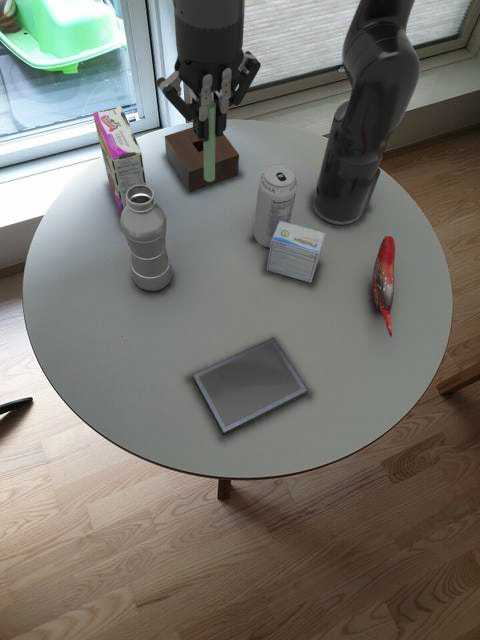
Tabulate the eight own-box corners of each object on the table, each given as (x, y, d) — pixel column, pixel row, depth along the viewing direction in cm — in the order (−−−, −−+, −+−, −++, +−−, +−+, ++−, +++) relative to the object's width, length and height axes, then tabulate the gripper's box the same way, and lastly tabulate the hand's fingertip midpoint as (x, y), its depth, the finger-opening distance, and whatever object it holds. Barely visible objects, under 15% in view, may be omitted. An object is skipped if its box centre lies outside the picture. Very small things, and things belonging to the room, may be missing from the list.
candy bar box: (107, 185, 100) (91, 111, 86) (133, 179, 101) (122, 104, 87) (125, 230, 95) (110, 158, 81) (152, 222, 96) (143, 151, 82)
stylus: (211, 178, 81) (211, 98, 69) (216, 185, 80) (218, 106, 68) (202, 182, 81) (200, 102, 68) (207, 189, 80) (206, 110, 68)
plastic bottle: (167, 299, 88) (157, 217, 71) (127, 291, 89) (107, 207, 71) (177, 268, 91) (171, 182, 74) (138, 260, 92) (123, 172, 75)
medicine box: (317, 264, 93) (326, 232, 86) (310, 284, 91) (320, 253, 84) (273, 251, 94) (278, 218, 87) (265, 271, 92) (270, 239, 85)
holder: (213, 140, 107) (213, 120, 103) (237, 174, 103) (239, 154, 99) (166, 156, 105) (164, 135, 100) (189, 192, 100) (188, 172, 96)
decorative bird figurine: (381, 265, 94) (398, 227, 85) (388, 356, 85) (409, 324, 76) (364, 263, 94) (380, 226, 85) (370, 355, 85) (389, 323, 76)
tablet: (272, 341, 85) (273, 337, 84) (306, 393, 81) (308, 390, 80) (192, 378, 81) (192, 374, 80) (223, 435, 77) (223, 432, 76)
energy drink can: (276, 219, 98) (287, 155, 85) (293, 243, 95) (306, 181, 82) (247, 230, 96) (253, 166, 83) (262, 254, 94) (271, 193, 81)
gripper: (165, 41, 54) (175, 170, 69) (282, 7, 58) (268, 136, 73) (134, 2, 57) (151, 133, 72) (247, -28, 61) (240, 103, 76)
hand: (209, 134), depth 72 cm, fingers closed on stylus, 1 cm apart
